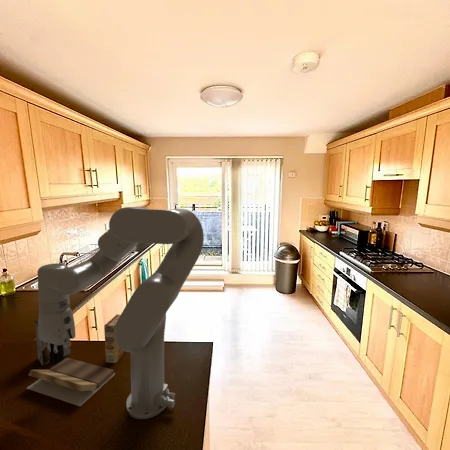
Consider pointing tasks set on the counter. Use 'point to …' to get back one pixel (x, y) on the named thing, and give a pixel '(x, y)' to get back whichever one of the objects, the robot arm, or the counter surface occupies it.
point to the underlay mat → (63, 392)
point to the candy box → (111, 342)
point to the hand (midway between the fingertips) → (57, 362)
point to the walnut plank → (83, 371)
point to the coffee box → (45, 349)
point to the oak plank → (63, 380)
